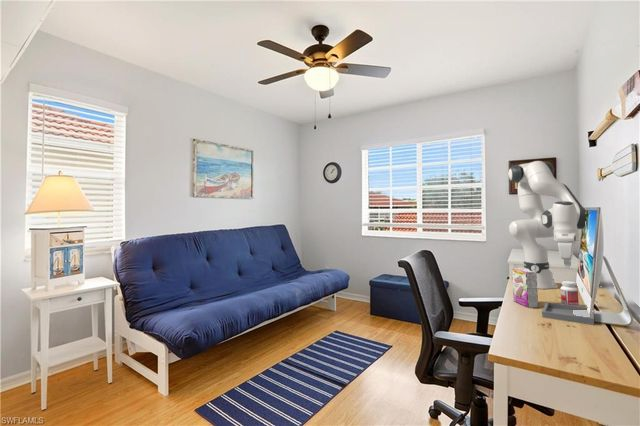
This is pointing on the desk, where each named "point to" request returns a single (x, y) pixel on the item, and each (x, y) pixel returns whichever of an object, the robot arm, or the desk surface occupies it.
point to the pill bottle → (569, 293)
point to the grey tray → (566, 313)
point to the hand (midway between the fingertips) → (567, 267)
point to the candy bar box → (525, 287)
